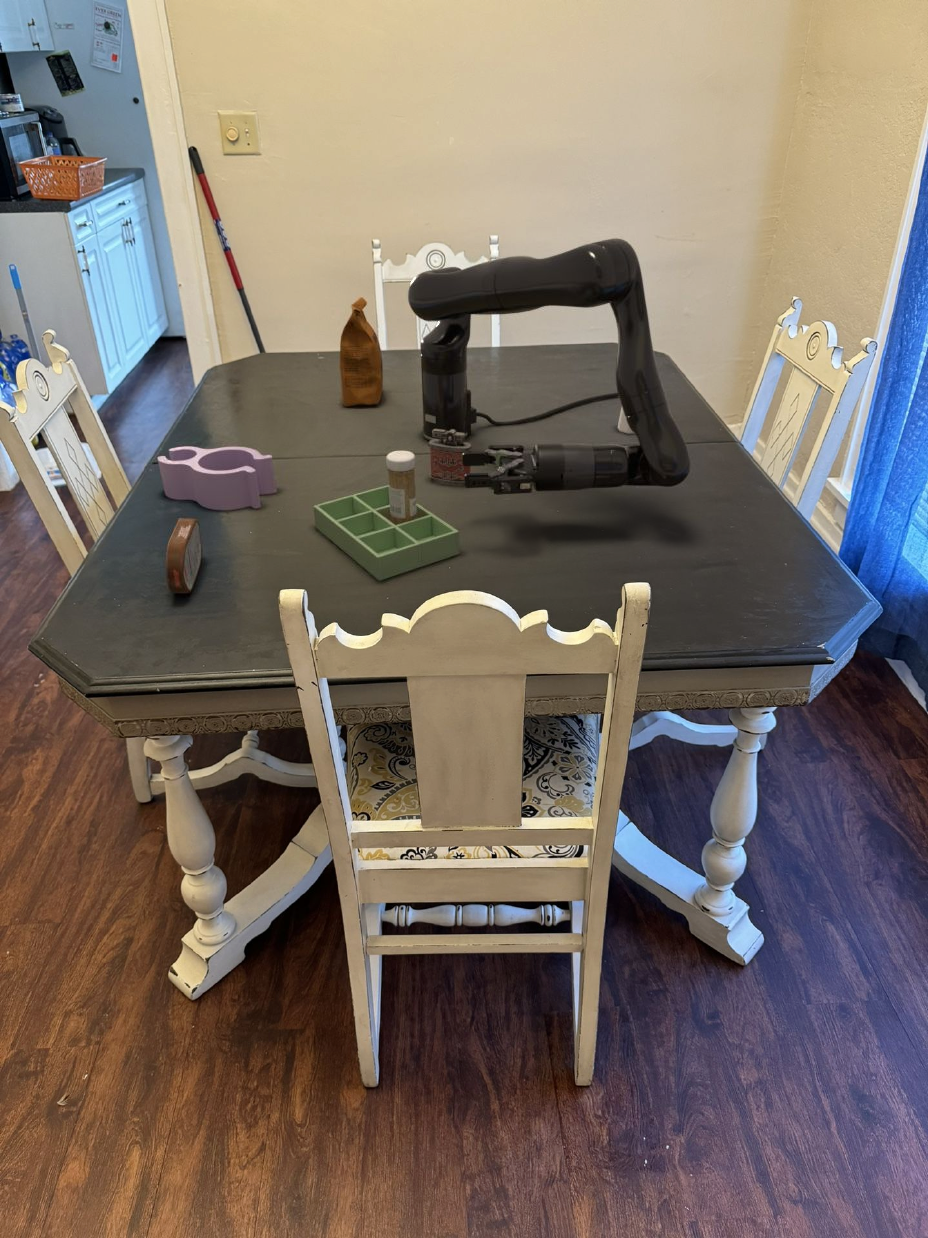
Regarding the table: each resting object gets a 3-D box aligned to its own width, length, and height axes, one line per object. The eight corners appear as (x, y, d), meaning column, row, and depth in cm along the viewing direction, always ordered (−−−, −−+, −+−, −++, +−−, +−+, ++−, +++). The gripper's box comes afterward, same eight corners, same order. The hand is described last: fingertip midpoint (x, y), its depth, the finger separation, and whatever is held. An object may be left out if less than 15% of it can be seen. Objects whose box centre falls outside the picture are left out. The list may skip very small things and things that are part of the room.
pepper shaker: (614, 432, 184) (619, 380, 178) (620, 423, 188) (625, 373, 182) (639, 435, 182) (645, 383, 176) (645, 426, 187) (650, 376, 180)
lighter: (473, 480, 164) (473, 429, 158) (467, 487, 161) (467, 436, 156) (433, 474, 166) (432, 424, 161) (427, 481, 164) (425, 431, 158)
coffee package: (389, 391, 207) (384, 295, 195) (380, 409, 197) (374, 309, 185) (348, 390, 208) (340, 295, 196) (337, 408, 198) (328, 308, 186)
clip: (152, 501, 157) (144, 466, 153) (188, 474, 167) (181, 440, 163) (252, 514, 153) (247, 477, 149) (283, 485, 163) (278, 450, 159)
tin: (188, 555, 140) (178, 508, 136) (208, 554, 140) (199, 507, 136) (170, 605, 128) (158, 554, 123) (191, 603, 128) (181, 553, 123)
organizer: (390, 505, 155) (389, 484, 153) (459, 553, 140) (458, 531, 138) (315, 527, 148) (313, 505, 146) (379, 580, 133) (377, 557, 131)
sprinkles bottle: (423, 532, 145) (420, 456, 137) (399, 539, 143) (395, 462, 135) (409, 521, 148) (405, 447, 141) (385, 528, 146) (380, 453, 138)
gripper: (558, 428, 144) (461, 431, 144) (571, 463, 132) (465, 465, 132) (556, 470, 148) (461, 473, 148) (568, 507, 137) (465, 510, 136)
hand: (463, 469), depth 140 cm, fingers open, 8 cm apart
